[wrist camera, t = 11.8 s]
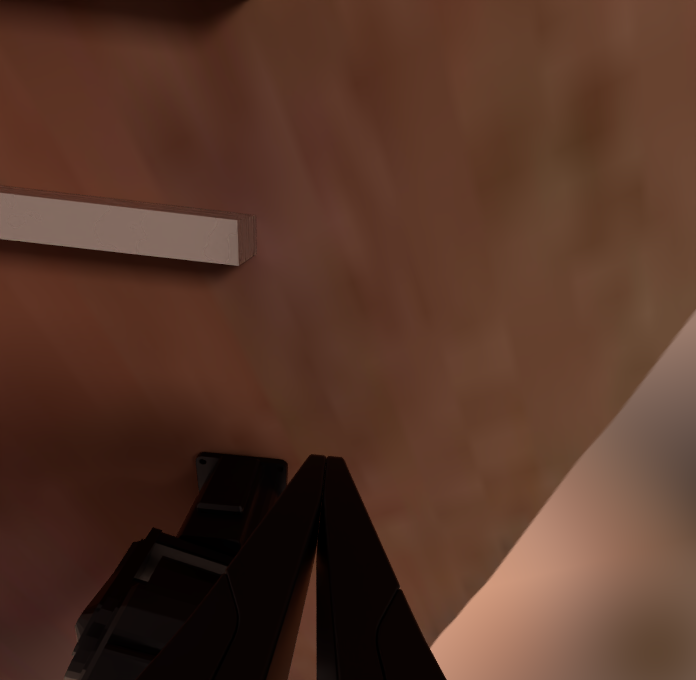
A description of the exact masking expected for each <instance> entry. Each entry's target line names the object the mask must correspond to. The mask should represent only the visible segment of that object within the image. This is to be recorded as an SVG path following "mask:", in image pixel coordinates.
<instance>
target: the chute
mask: <svg viewBox="0 0 696 680" xmlns="http://www.w3.org/2000/svg"><path fill="white" fill-rule="evenodd" d="M0 239H5V240H13V241H22V242H31V243H40V244H49V245H58V246H67V247H76V248H85V249H94V250H102V251H111V252H120V253H129V254H138V255H147V256H156V257H165V258H174V259H183V260H192V261H200V262H209V263H218V264H227V265H236V266H239V265H241V264H242V263H244V262H245V261H247V260H248V259H250V258H251V257H253V256H254V255H256V215H249V214H240V213H232V212H223V211H215V210H206V209H197V208H189V207H180V206H172V205H163V204H154V203H146V202H137V201H129V200H120V199H111V198H103V197H94V196H86V195H77V194H68V193H60V192H51V191H43V190H34V189H25V188H17V187H8V186H0Z"/></svg>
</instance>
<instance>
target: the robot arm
mask: <svg viewBox="0 0 696 680" xmlns="http://www.w3.org/2000/svg"><path fill="white" fill-rule="evenodd" d="M203 459H204V460H203ZM325 466H326V468H325ZM280 467H282V468H280ZM196 468H197V477H198V486H199V494H198V496H197V497H196V499H195V501H194V503H193V505H192V507H191V509H190V511H189V513H188V515H187V517H186V519H185V521H184V523H183V525H182V527H181V528H180V530H179V532H178V534H177V536H176V537H175V536H172V535H169V534H166V533H163V532H162V530H160V529H157V528H154V527H153V528H152V530H151V531H150V533H149V534H148V536H147V537H146V539H144V540H143V539H141V541H137V542H133V543H132V545H131V546H130V548H129V550H128V551H127V553H126V554H125V556H124V557H123V559H122V561H121V562H120V564H119V565H118V567H117V568H116V570H115V571H114V573H113V574H112V575H111V577H110V578H109V579H108V581H107V582H106V583H105V584H104V586H103V587H102V588H101V590H100V591H99V592H98V593H97V595H96V596H95V597H94V598H93V600H92V601H91V602H90V603H89V605H88V606H87V607H86V609H85V610H84V611H83V613H82V614H81V616H80V617H79V619H78V621H77V623H76V625H75V632H76V638H77V644H76V646H75V649H74V651H73V653H72V655H73V656H74V657H73V659H72V661H71V663H70V665H69V667H68V669H67V672H66V674H65V676H64V680H288V676H289V671H290V667H291V662H292V658H293V653H294V649H295V644H296V640H297V635H298V631H299V626H300V622H301V617H302V613H303V608H304V604H305V599H306V595H307V590H308V586H309V581H310V577H311V572H312V568H313V563H314V558H315V553H316V547H317V560H316V598H317V680H447V679H446V678H445V676H444V674H443V672H442V670H441V669H440V667H439V665H438V663H437V661H436V659H435V657H434V655H433V654H432V652H431V650H430V648H429V646H428V644H427V642H426V641H425V638H424V636H423V634H422V632H421V630H420V628H419V626H418V624H417V622H416V620H415V617H414V615H413V613H412V611H411V609H410V607H409V605H408V602H407V600H406V598H405V595H404V593H403V591H402V590H401V589H399V588H400V585H399V582H398V580H397V578H396V576H395V573H394V571H393V569H392V567H391V564H390V562H389V560H388V558H387V555H386V553H385V551H384V549H383V546H382V544H381V542H380V540H379V537H378V535H377V533H376V531H375V528H374V526H373V524H372V522H371V519H370V517H369V515H368V513H367V510H366V508H365V506H364V503H363V501H362V499H361V497H360V494H359V492H358V490H357V488H356V485H355V483H354V481H353V479H352V476H351V474H350V472H349V470H348V467H347V465H346V463H345V461H344V459H343V458H342V457H334V456H328V457H327V459H326V456H324V455H314V454H311V455H310V456H309V457H308V458H307V459H306V461H305V462H304V463H303V465H302V466H301V467H300V469H299V470H298V472H297V473H296V474H295V476H294V477H293V478H292V480H291V481H290V482H289V484H288V485H287V474H288V464H287V462H285V461H284V460H278V459H268V458H257V457H247V456H237V455H227V454H217V453H206V452H202V453H200V454H199V455H198V457H197V458H196ZM324 475H325V477H324ZM323 484H324V486H323ZM322 494H323V495H322ZM321 503H322V504H321ZM320 512H321V514H320ZM319 521H320V523H319ZM318 530H319V532H318ZM317 539H318V542H317Z"/></svg>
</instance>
